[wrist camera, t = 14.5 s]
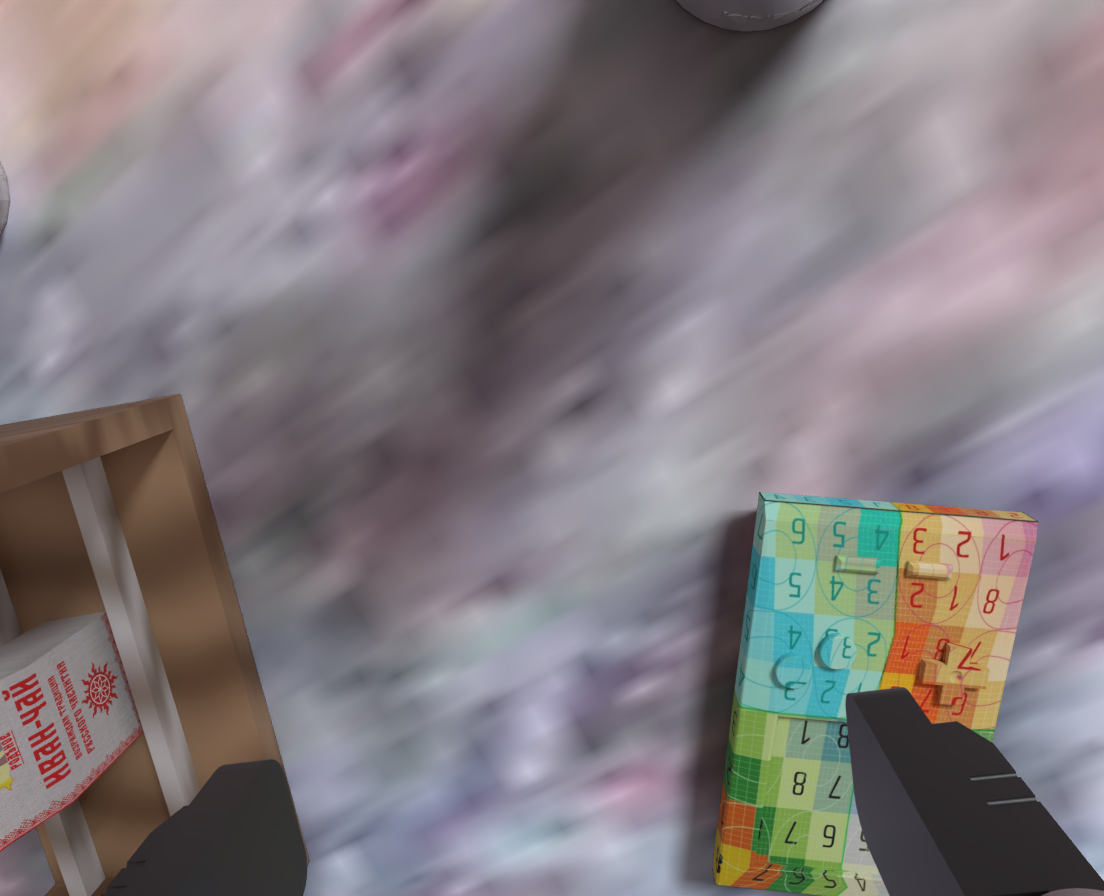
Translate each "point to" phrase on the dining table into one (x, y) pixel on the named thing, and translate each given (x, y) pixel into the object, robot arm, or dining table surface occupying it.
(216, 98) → the dining table surface
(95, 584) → the wooden rack
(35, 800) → the white food carton
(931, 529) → the puzzle game
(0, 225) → the coffee cup
